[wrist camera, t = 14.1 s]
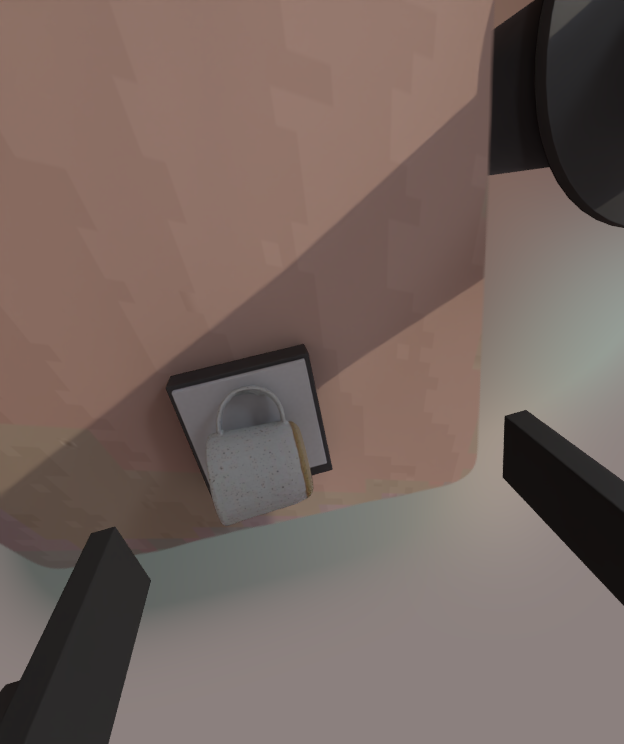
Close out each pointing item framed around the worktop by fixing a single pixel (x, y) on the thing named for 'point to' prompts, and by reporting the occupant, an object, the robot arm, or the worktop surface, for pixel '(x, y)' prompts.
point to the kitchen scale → (251, 401)
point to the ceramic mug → (256, 465)
